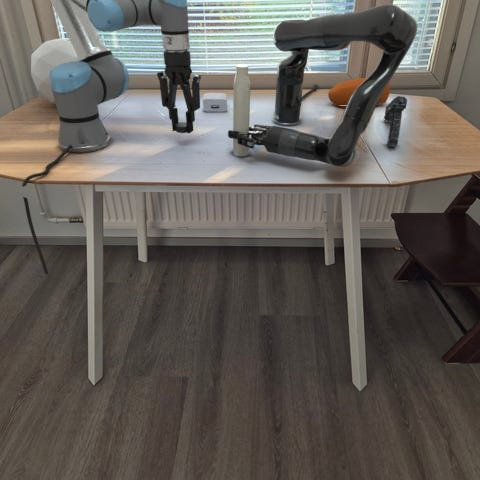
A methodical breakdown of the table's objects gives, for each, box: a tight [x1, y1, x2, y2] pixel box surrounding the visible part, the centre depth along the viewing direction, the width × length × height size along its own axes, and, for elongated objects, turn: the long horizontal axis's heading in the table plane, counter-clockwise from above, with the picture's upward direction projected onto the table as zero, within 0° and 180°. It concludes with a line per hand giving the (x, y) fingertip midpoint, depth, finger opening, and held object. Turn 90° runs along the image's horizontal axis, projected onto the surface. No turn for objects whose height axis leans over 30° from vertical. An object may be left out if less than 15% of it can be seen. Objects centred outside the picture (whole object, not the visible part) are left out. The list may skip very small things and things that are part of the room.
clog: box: [327, 76, 391, 109], centre depth 165 cm, size 12×11×25 cm
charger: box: [202, 92, 228, 113], centre depth 163 cm, size 5×9×15 cm
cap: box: [175, 121, 188, 134], centre depth 127 cm, size 5×5×2 cm
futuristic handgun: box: [383, 95, 408, 147], centre depth 138 cm, size 4×29×15 cm, turn 164°
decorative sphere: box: [30, 37, 77, 105], centre depth 157 cm, size 24×25×25 cm
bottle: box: [232, 64, 251, 157], centre depth 118 cm, size 5×5×25 cm
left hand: (183, 130), depth 128 cm, fingers closed on cap, 4 cm apart
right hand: (233, 130), depth 122 cm, fingers closed on bottle, 4 cm apart
